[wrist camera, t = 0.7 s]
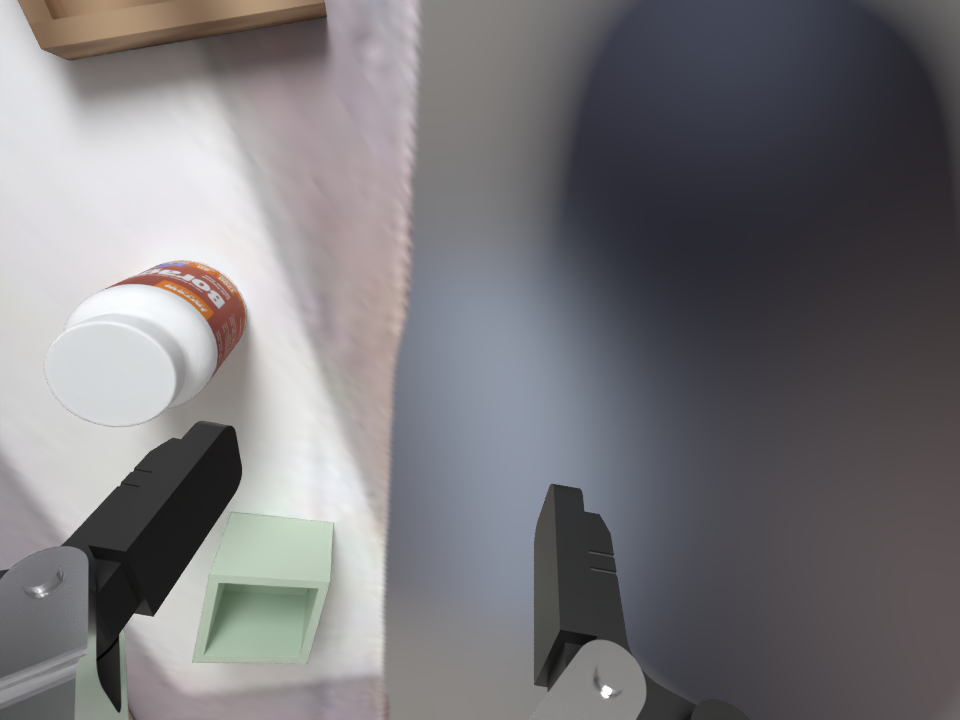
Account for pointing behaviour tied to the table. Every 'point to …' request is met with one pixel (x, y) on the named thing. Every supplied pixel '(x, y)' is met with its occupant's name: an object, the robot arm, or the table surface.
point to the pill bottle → (145, 343)
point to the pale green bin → (265, 591)
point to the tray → (151, 21)
